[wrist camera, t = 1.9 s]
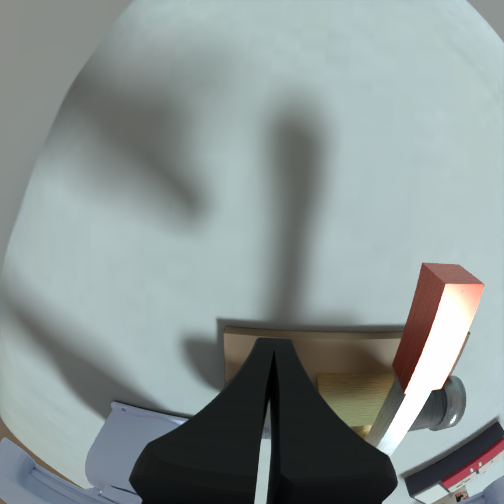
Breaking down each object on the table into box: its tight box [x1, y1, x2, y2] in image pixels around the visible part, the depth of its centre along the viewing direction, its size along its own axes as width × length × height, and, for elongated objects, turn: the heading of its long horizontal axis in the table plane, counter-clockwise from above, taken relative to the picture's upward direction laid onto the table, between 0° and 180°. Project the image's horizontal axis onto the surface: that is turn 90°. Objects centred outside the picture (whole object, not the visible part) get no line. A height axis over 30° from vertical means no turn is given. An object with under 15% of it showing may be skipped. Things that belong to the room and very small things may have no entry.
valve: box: [224, 371, 466, 440], centre depth 16 cm, size 18×5×6 cm, turn 88°
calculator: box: [404, 422, 504, 504], centre depth 22 cm, size 11×4×15 cm
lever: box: [365, 263, 484, 457], centre depth 10 cm, size 3×14×2 cm, turn 178°
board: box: [224, 326, 470, 384], centre depth 19 cm, size 18×11×1 cm, turn 88°
